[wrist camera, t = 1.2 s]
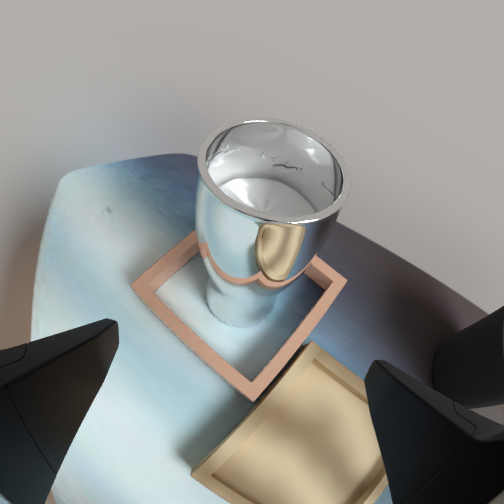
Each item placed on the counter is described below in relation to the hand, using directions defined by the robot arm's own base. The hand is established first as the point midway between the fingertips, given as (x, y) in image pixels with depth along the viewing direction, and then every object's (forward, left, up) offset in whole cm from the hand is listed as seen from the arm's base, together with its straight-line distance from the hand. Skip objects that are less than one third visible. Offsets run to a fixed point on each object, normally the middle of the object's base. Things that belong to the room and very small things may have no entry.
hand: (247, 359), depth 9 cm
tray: (-1, -10, -13) cm, 17 cm away
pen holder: (+14, -20, -14) cm, 28 cm away
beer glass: (+6, +4, -14) cm, 16 cm away
